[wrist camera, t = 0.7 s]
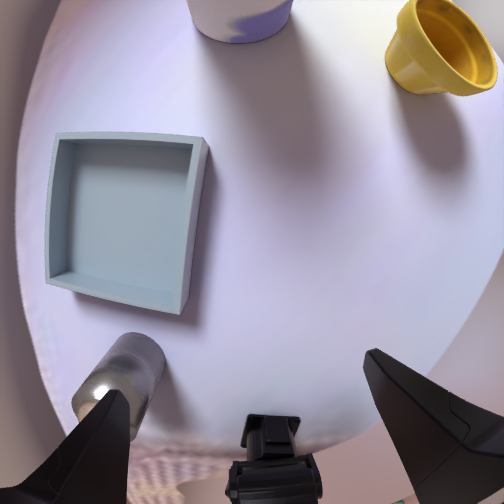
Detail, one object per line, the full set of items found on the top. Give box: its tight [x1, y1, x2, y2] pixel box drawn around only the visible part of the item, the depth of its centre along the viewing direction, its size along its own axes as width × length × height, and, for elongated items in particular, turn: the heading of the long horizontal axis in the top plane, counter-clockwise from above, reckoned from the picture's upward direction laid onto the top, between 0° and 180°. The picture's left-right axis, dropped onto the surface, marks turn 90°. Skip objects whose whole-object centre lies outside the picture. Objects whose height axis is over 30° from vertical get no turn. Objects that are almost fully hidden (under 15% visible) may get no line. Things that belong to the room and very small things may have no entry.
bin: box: [45, 132, 209, 315], centre depth 22 cm, size 14×14×4 cm
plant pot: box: [385, 0, 498, 96], centre depth 17 cm, size 10×10×10 cm
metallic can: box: [72, 332, 165, 442], centre depth 21 cm, size 6×6×12 cm
